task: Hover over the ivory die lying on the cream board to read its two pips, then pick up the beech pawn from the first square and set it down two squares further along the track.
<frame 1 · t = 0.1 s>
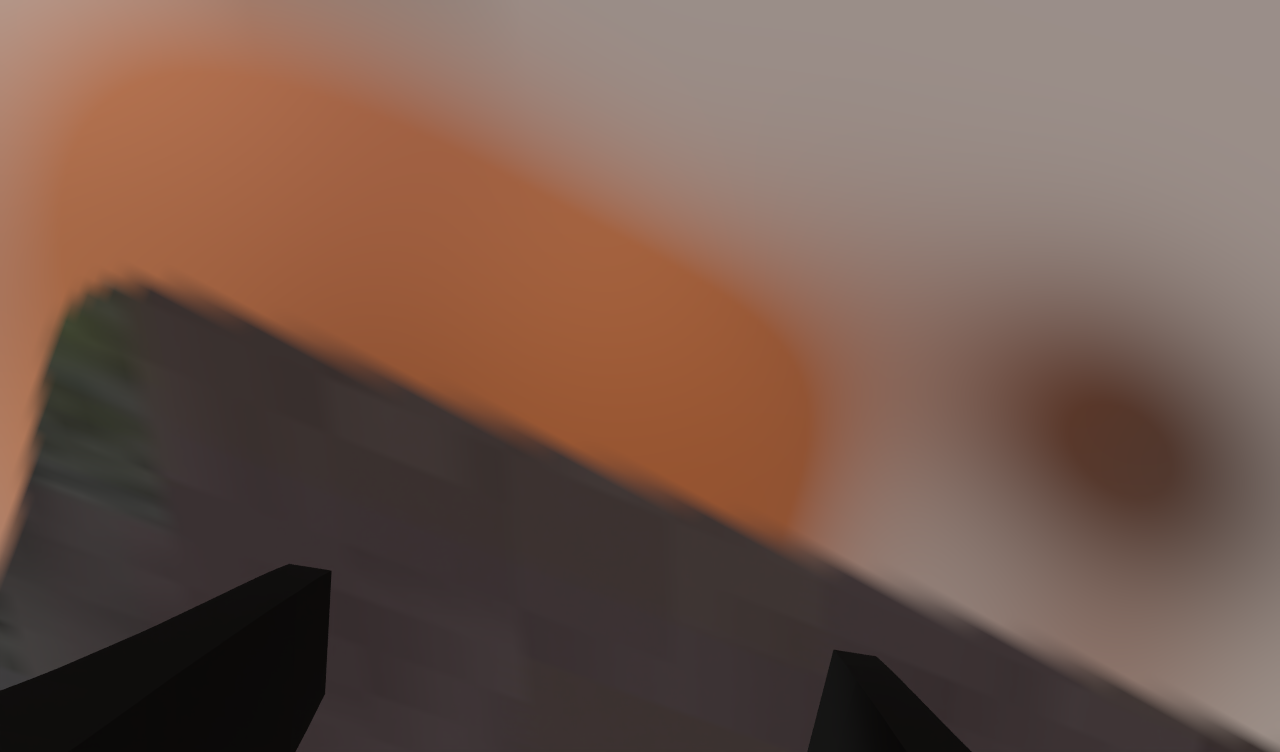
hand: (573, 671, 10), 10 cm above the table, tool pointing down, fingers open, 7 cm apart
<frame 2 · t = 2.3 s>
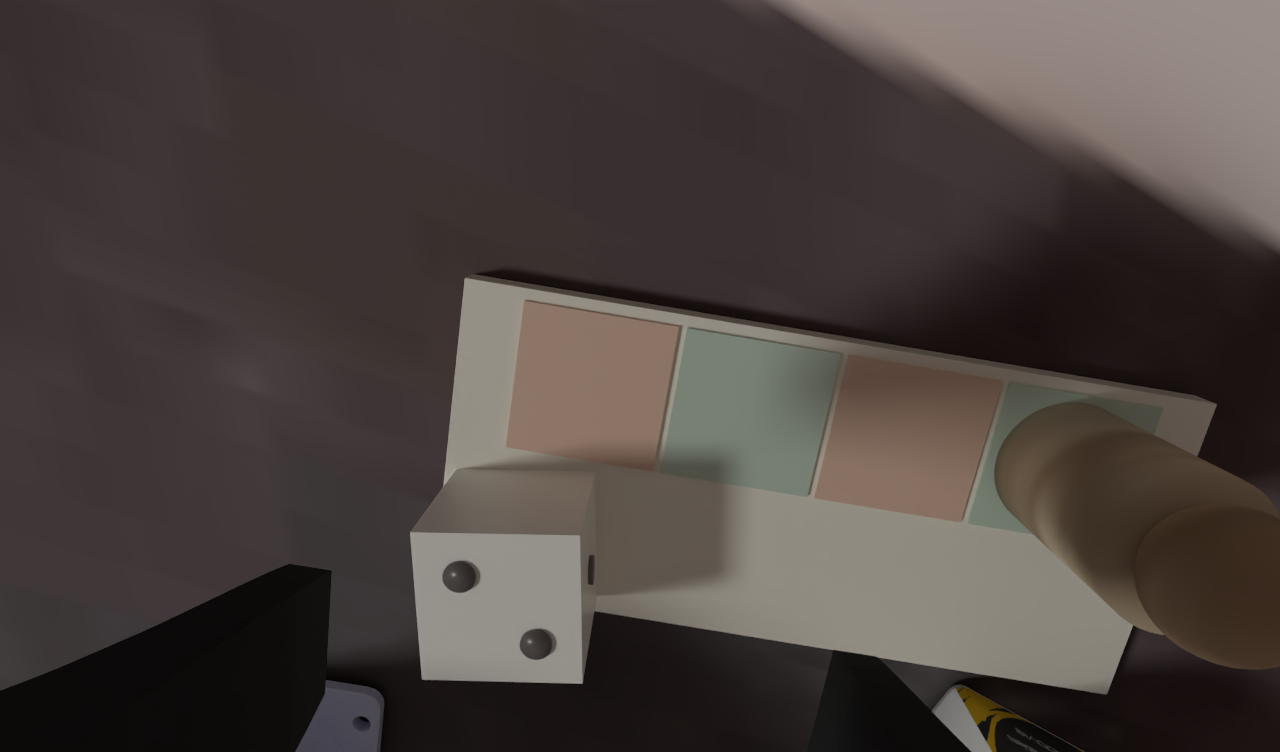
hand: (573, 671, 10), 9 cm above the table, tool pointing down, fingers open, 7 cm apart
board: (799, 486, 20), on the table
die: (528, 533, 19), point 1 cm above the table, touching board
pawn: (1063, 467, 18), point 1 cm above the table, touching board
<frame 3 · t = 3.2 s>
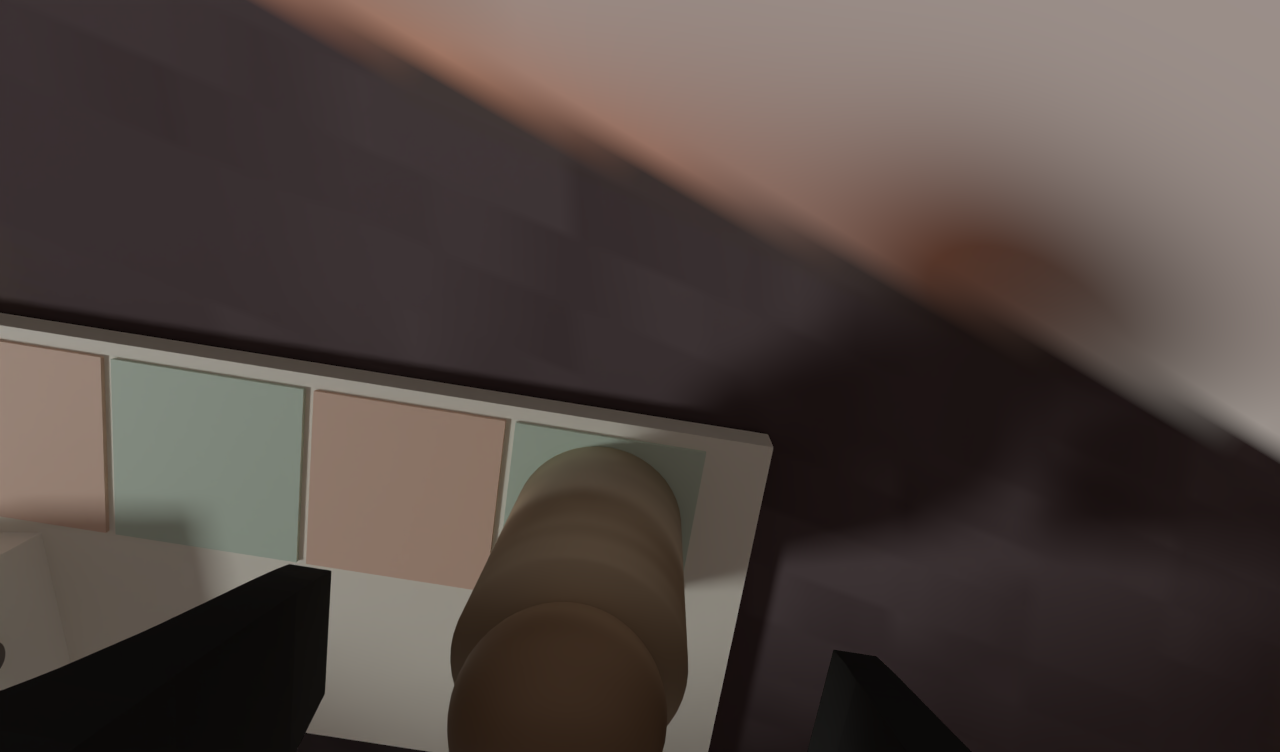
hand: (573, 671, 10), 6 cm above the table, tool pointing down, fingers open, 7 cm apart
board: (315, 546, 16), on the table
pawn: (597, 525, 15), point 1 cm above the table, touching board
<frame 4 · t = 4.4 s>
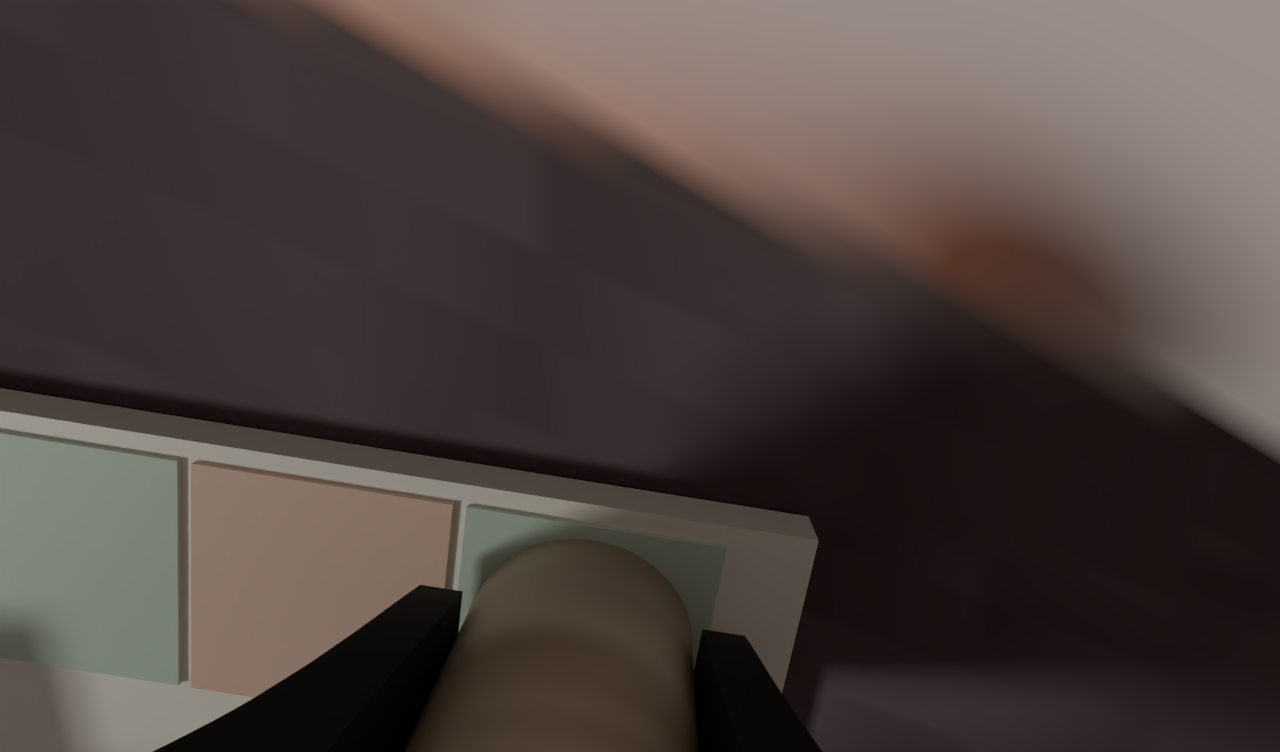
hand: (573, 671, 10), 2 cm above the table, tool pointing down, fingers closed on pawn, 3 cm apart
board: (212, 655, 12), on the table
pawn: (579, 641, 11), point 1 cm above the table, touching board, gripper
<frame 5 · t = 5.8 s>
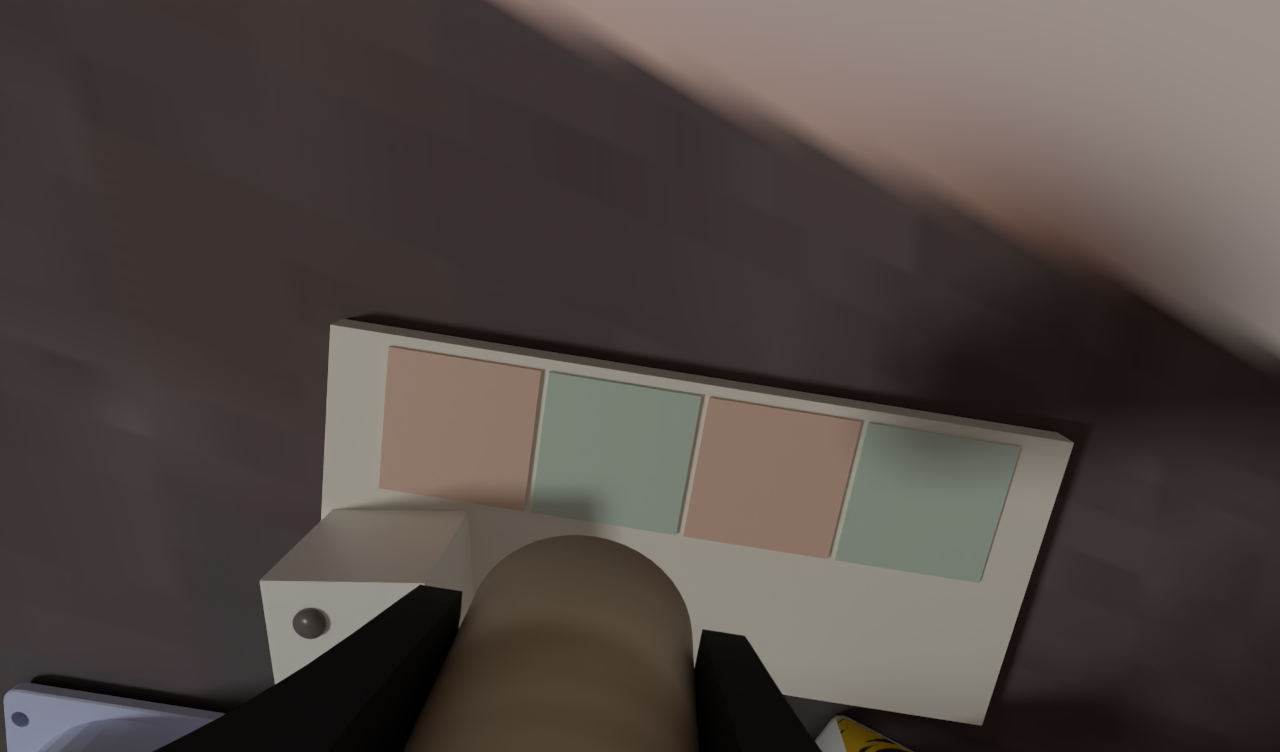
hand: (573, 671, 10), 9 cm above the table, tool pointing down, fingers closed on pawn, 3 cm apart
board: (674, 523, 20), on the table
die: (406, 571, 20), point 1 cm above the table, touching board
pawn: (579, 637, 11), point 9 cm above the table, touching gripper
when the fingers open (2 cm above the table, at t = 7.5 s): pawn stays where it is, resting on board.
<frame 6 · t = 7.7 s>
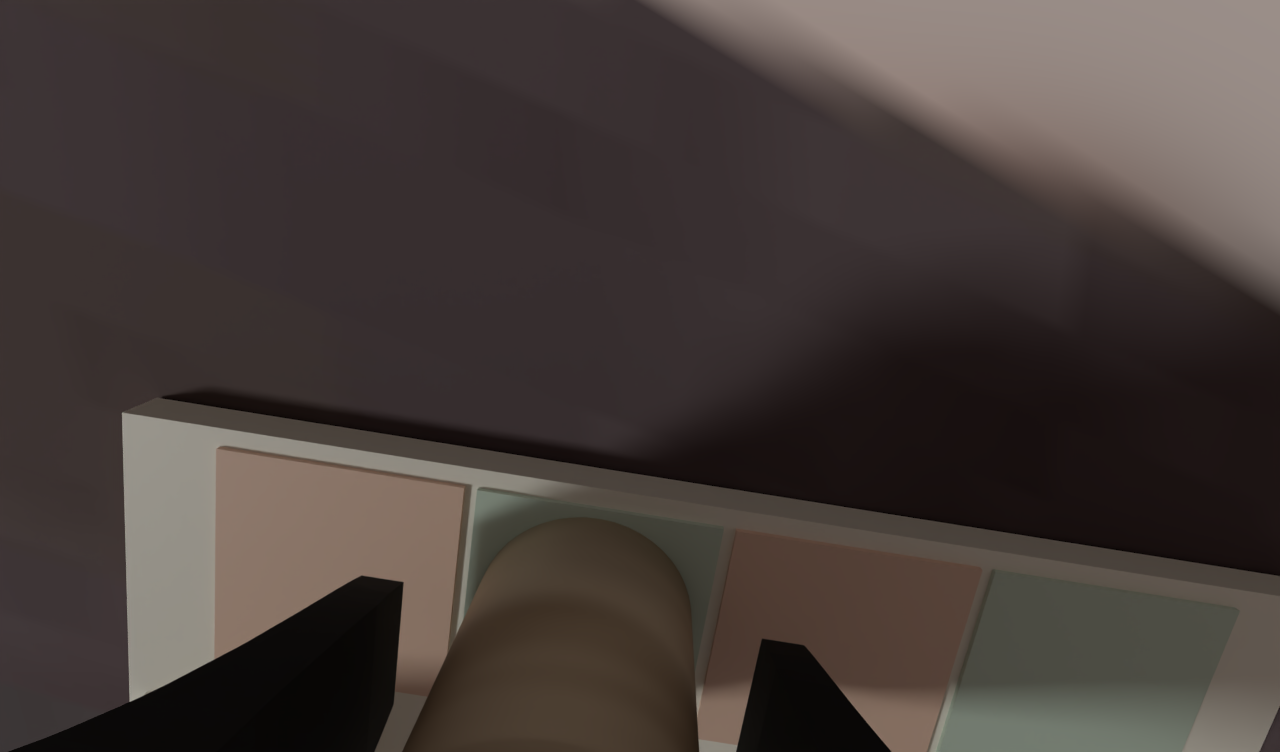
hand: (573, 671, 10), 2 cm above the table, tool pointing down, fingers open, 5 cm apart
board: (679, 704, 13), on the table
pawn: (583, 615, 12), point 1 cm above the table, touching board
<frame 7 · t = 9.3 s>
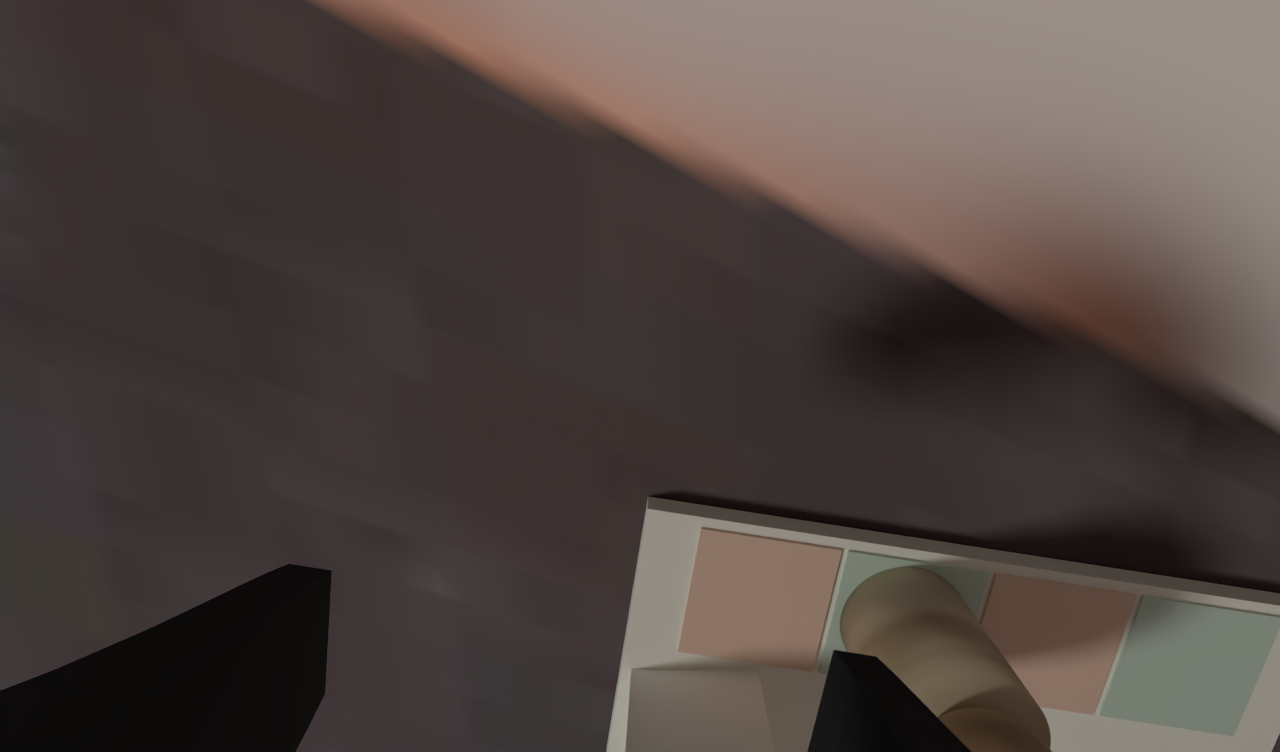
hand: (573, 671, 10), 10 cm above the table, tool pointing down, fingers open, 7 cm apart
board: (940, 675, 21), on the table
die: (694, 723, 21), point 1 cm above the table, touching board
pawn: (902, 622, 20), point 1 cm above the table, touching board
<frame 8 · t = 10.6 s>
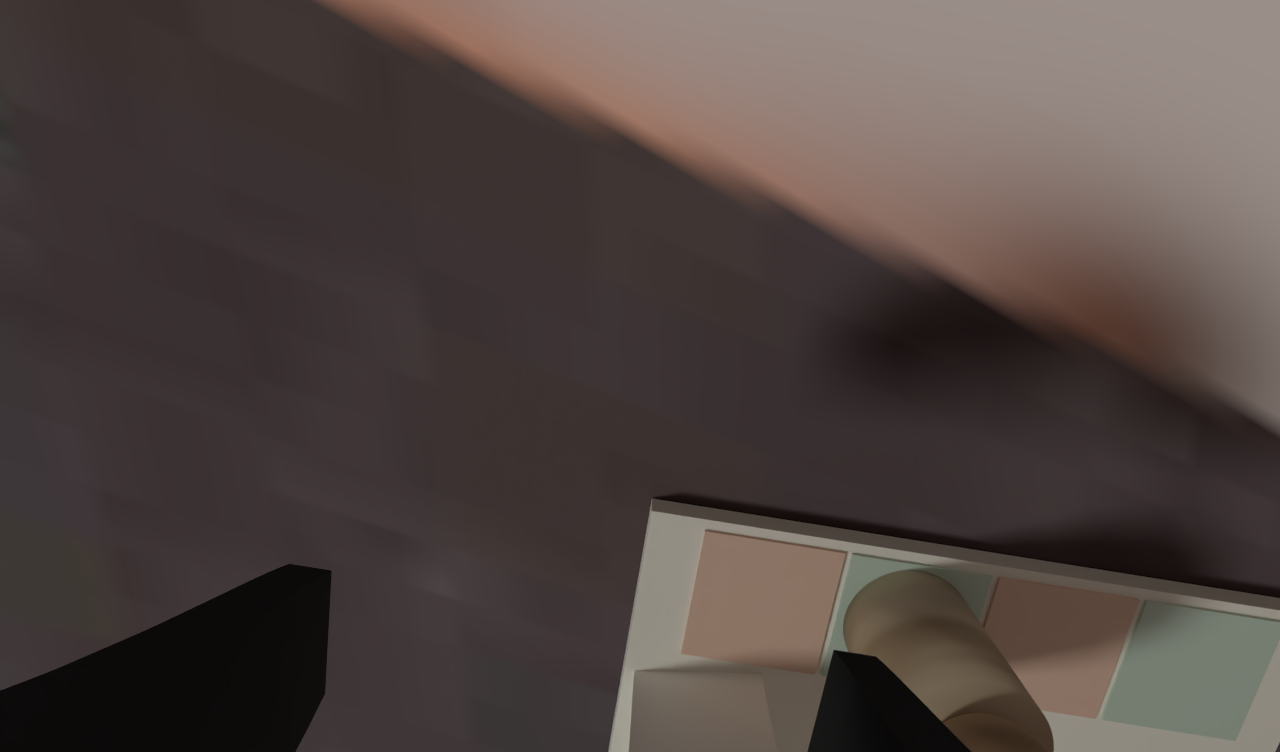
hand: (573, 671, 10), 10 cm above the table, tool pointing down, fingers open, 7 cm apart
board: (942, 679, 21), on the table
die: (696, 725, 21), point 1 cm above the table, touching board
pawn: (905, 626, 20), point 1 cm above the table, touching board
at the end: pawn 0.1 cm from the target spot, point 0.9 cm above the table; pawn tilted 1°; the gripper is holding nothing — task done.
